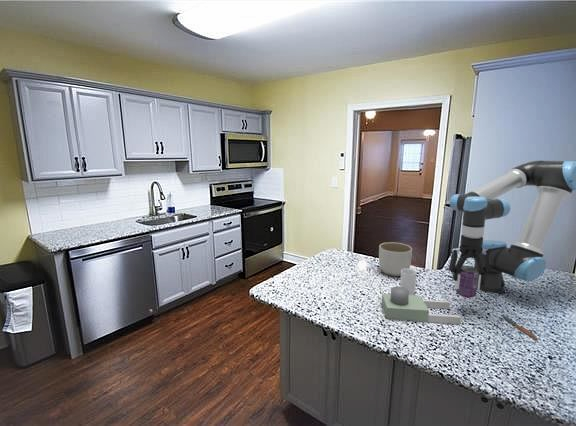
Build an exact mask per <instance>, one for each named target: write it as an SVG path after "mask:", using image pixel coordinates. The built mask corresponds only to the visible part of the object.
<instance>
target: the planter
mask: <svg viewBox="0 0 576 426" xmlns="http://www.w3.org/2000/svg"><path fill="white" fill-rule="evenodd" d="M412 254H413V248H412V246H410V245H409V244H405V243H402V242H395V241H393V242H392V241H390V242H383V243H380V244H379V246H378V264H379V265H378V266H379V268H380V270H381V272H383V273H384V274H386V275H388V276H392V277H401V270H402V269H411V263H412V257H413V256H412Z"/></svg>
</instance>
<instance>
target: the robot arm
mask: <svg viewBox="0 0 576 426" xmlns="http://www.w3.org/2000/svg"><path fill="white" fill-rule="evenodd" d="M528 186H529V187H530V186H532V187H534V186H535V187H536V189H535V190H536V191H538V193H537V196H536V197H535V200H534V202H533V204H532V207H531V209H530V211H529V214H528V216H527V218H526V221H525V223H524V225H523V228H522V229H521V232H520V234H519V236H518V239H517V241H516V242H513V243H511V245H510V247H507V246H508V245H507V242H505V241H501V240H493V239H492V240H491V239H489V240H487V239H486V240H484V237H483V236H484V234H485V226H486V225H485V223H486V220H492V219H500V218H503V217H506V216H508V215H509V213H510V212H511V205H510V203H509V201H507V199H503V198H498V197H500V196H502V195H505V194H506V193H508V192H510V191H512V190H514V189H521V188H523V187H528ZM573 191H576V161H571V160H533V161H529V162H526V163H523V164H522V163H521V164H520V165H516V166H515V167H512V168H511V169H508V170H507V171H506V172H505V174H503V175H500V177H497V178H495V179H494V180H491V181H489V182H487V183H485V184H483V185H481V186H479V187H477V188H475V189H473V190H471V191H469V192H467V193H464V194H461V193H459V194H458V193H456V194H453V195H452V196H451V197H450V200H449V206H450V208H451V209H452V210H453V211H456V212H457V211H458V212H461V213H462V224H461V234H460V241H459V243H460V245H459V247H457V248H454V247H453V248H451V256H450V260H449V266H448V270H449V271H450V273H451V274H453V275H452V279H453V281H454V287H455V288H457V289H459V284H460V274H459V271H460V270H461V268H462V266H464V265H465V262H466V261H467V260H468V259H471V258H472V259H473V260H474V265H473V267H475V268H476V269H477V272H478V282H477V291H478V290H479V291H483V292H487V293H494V294H495V293H502V292H504V291H505V288H506V287H505V286H506V284H505V280H504V276H503V273H504V274H505V275H509V276H511V277H514V278H516V279H518V280H523V281H526V282H533V281H535V280H537V279H539V278H540V277H541V276H542V275H543V274H544V272H545V270H546V268H547V265H546V264H547V261H546V259H545V258H544V255H545V254H544V252H543V251H542V248H543V246H544V243H545V241H546V240H547V238H548V236H549V235H548V234H549V233H550V231H551V228H552V225H553V224H554V221H555V219H556V217H557V214H558V213H559V211H560V207H561V206H562V204H563V201H564V199H565V198H567V197H570V196H572V192H573ZM459 253H460V254H459ZM458 255H459V259H458Z"/></svg>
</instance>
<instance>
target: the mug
mask: <svg viewBox="0 0 576 426" xmlns="http://www.w3.org/2000/svg"><path fill="white" fill-rule="evenodd" d="M417 273H418V272H417V271H416V270H414V269H412V268H410V269H402V270H401V276H400V286H399V287H404V288H406V289H408V290H409V295H415V291H416V283H417Z"/></svg>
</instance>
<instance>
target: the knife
mask: <svg viewBox="0 0 576 426" xmlns="http://www.w3.org/2000/svg"><path fill="white" fill-rule="evenodd" d="M501 315H502V316H501V317H502V318H504V320H506V321H507V322H508V323H510V324H511V325H512V326H513V329H514V328H516V329H517V330H518V331H520V332H521V333H523V334H525V335H526V336H528V337H529V338H531V339H533V341H534V342H537V341H538V337H537V336H536V335H535V334H534V333H532V332H531V331H530V330H528V329H527V328H525V327H523V326H522V325H519V324H517V323H516V322H515V321H514V320H512V319H510V318H509V317H507V316H505V315H504V314H501Z"/></svg>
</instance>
